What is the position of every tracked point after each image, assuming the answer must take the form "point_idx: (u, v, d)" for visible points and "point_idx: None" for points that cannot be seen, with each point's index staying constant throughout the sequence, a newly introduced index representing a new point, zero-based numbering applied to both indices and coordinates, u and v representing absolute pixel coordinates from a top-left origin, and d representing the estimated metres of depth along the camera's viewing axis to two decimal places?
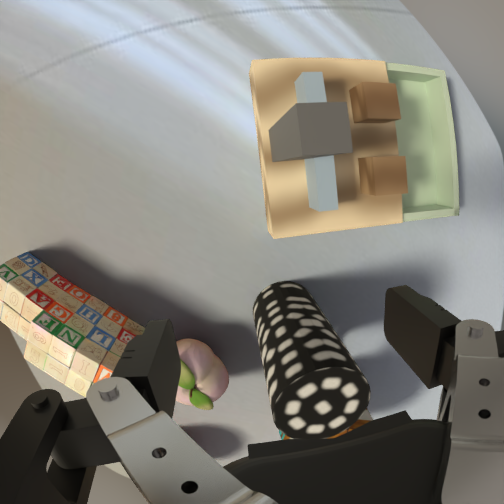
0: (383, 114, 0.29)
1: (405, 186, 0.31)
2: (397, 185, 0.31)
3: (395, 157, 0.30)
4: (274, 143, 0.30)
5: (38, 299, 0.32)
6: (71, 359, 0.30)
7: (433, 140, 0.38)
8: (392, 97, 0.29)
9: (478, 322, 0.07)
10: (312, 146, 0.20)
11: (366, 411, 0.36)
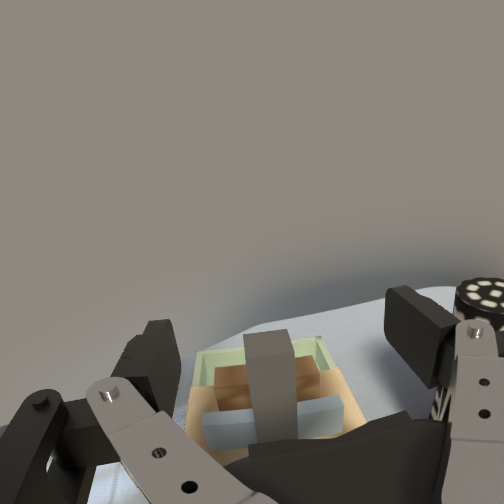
0: (244, 374, 0.36)
1: (306, 357, 0.38)
2: (307, 361, 0.37)
3: None
4: None
5: None
6: None
7: None
8: (227, 369, 0.37)
9: (478, 322, 0.07)
10: (285, 347, 0.23)
11: None
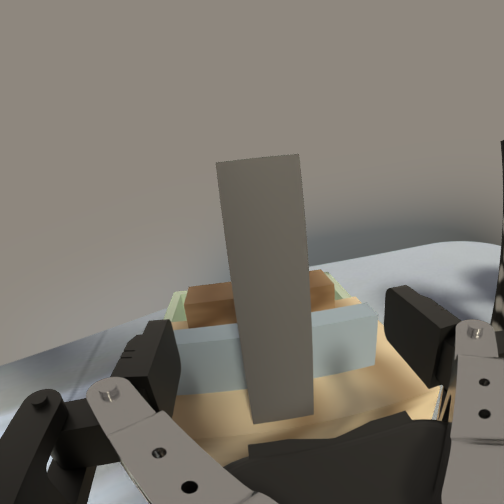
0: (228, 290, 0.27)
1: (313, 271, 0.29)
2: (314, 275, 0.28)
3: None
4: (280, 380, 0.16)
5: None
6: None
7: None
8: (206, 287, 0.28)
9: (478, 322, 0.07)
10: None
11: None
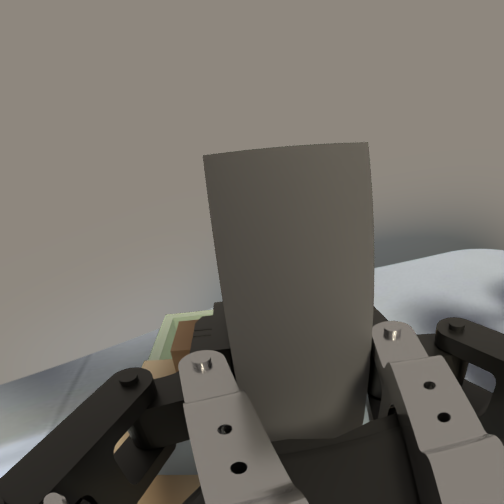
0: None
1: None
2: None
3: None
4: None
5: None
6: None
7: None
8: None
9: (394, 323, 0.08)
10: None
11: None
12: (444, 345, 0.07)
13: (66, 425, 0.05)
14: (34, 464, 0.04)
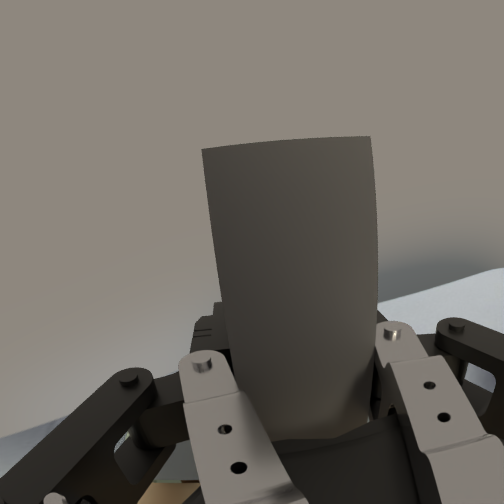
0: None
1: None
2: None
3: None
4: None
5: None
6: None
7: None
8: None
9: (394, 323, 0.08)
10: None
11: None
12: (444, 345, 0.07)
13: (66, 424, 0.05)
14: (34, 464, 0.04)
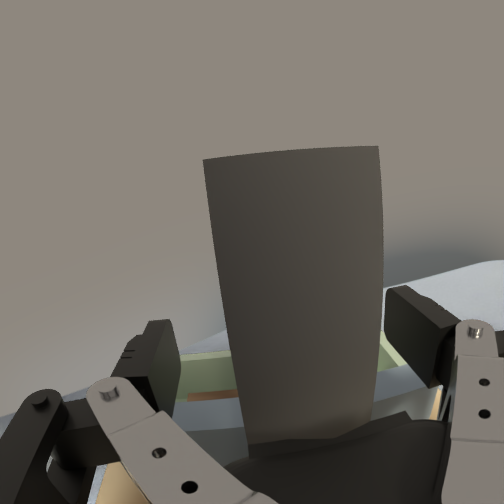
0: None
1: None
2: None
3: None
4: None
5: None
6: None
7: None
8: None
9: (478, 322, 0.07)
10: None
11: None
12: None
13: None
14: None
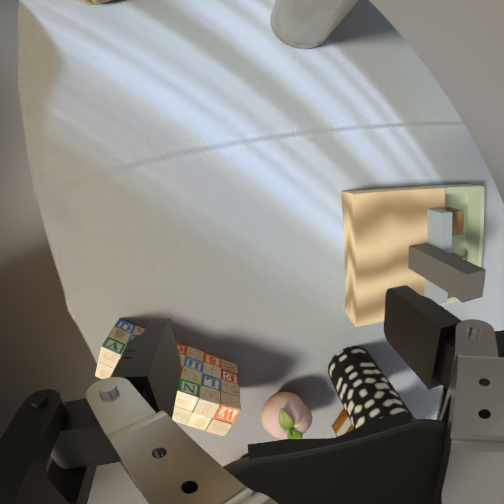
0: None
1: None
2: None
3: (457, 254, 0.49)
4: (418, 262, 0.42)
5: None
6: (195, 405, 0.40)
7: (466, 237, 0.50)
8: None
9: (478, 322, 0.07)
10: (467, 296, 0.31)
11: None
12: None
13: None
14: None
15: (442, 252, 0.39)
